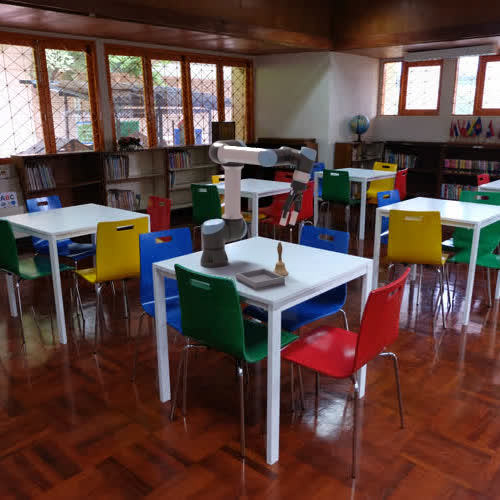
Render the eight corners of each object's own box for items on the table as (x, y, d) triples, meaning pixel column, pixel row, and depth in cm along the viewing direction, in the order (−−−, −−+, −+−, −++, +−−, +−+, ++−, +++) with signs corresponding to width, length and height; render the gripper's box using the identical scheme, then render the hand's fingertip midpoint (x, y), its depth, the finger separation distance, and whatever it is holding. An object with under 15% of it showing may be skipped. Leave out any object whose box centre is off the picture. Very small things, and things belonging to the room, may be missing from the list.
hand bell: (279, 276, 244) (279, 245, 240) (268, 273, 250) (268, 242, 246) (291, 273, 248) (292, 242, 244) (281, 270, 255) (281, 239, 251)
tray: (236, 280, 239) (236, 273, 238) (264, 274, 247) (264, 268, 246) (255, 290, 224) (255, 282, 223) (284, 284, 232) (284, 277, 231)
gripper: (299, 181, 218) (285, 227, 222) (315, 184, 241) (302, 226, 245) (283, 177, 221) (270, 222, 225) (300, 180, 244) (288, 222, 248)
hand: (287, 224), depth 235 cm, fingers open, 13 cm apart
